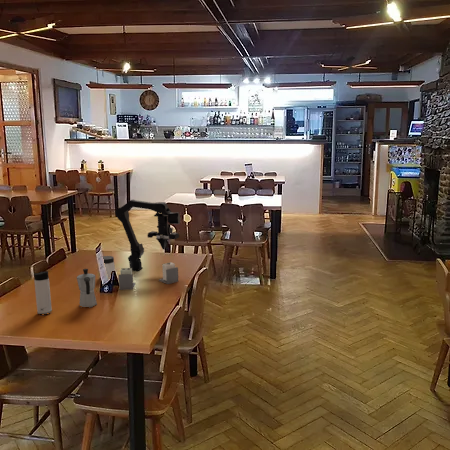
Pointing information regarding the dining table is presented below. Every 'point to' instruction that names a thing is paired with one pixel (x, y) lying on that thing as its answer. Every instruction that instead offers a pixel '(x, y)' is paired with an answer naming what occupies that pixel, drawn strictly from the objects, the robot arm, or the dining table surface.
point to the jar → (109, 264)
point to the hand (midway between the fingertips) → (163, 249)
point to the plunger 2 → (167, 266)
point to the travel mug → (42, 292)
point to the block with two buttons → (126, 271)
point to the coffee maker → (87, 289)
